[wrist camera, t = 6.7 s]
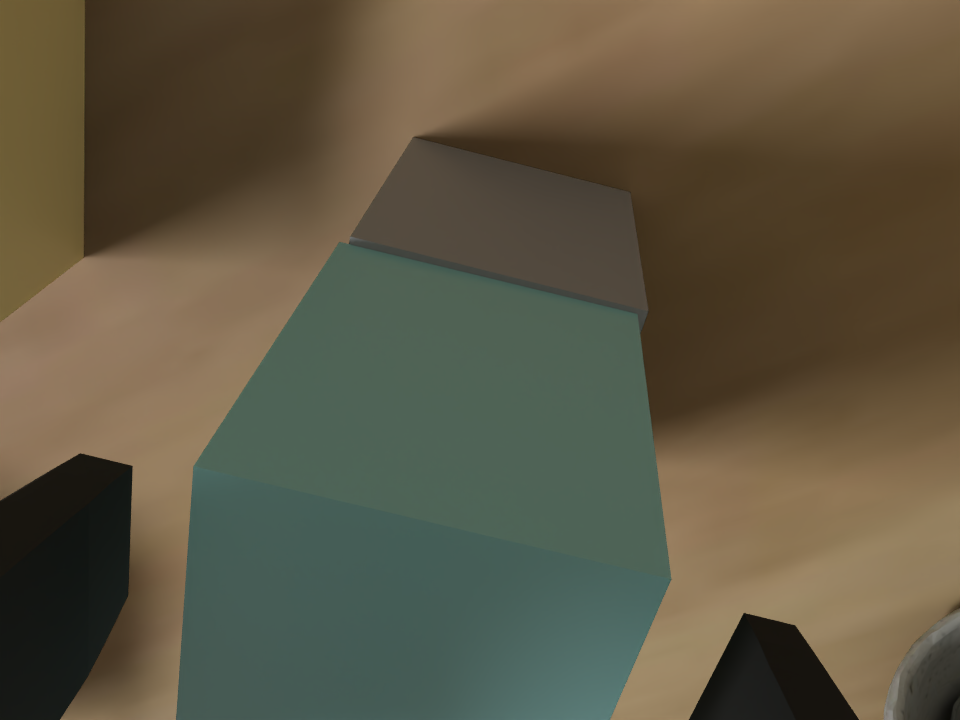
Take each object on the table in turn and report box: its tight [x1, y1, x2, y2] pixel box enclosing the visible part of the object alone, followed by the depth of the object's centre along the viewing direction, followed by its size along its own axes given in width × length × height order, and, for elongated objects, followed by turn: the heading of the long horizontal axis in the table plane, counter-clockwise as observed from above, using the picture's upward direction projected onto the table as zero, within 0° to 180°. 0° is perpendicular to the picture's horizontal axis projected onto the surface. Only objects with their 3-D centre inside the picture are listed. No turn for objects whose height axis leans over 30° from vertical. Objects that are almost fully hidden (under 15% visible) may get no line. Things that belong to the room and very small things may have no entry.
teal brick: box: [176, 242, 671, 720], centre depth 11 cm, size 6×4×5 cm, turn 168°
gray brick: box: [349, 137, 648, 334], centre depth 15 cm, size 6×4×5 cm, turn 167°
